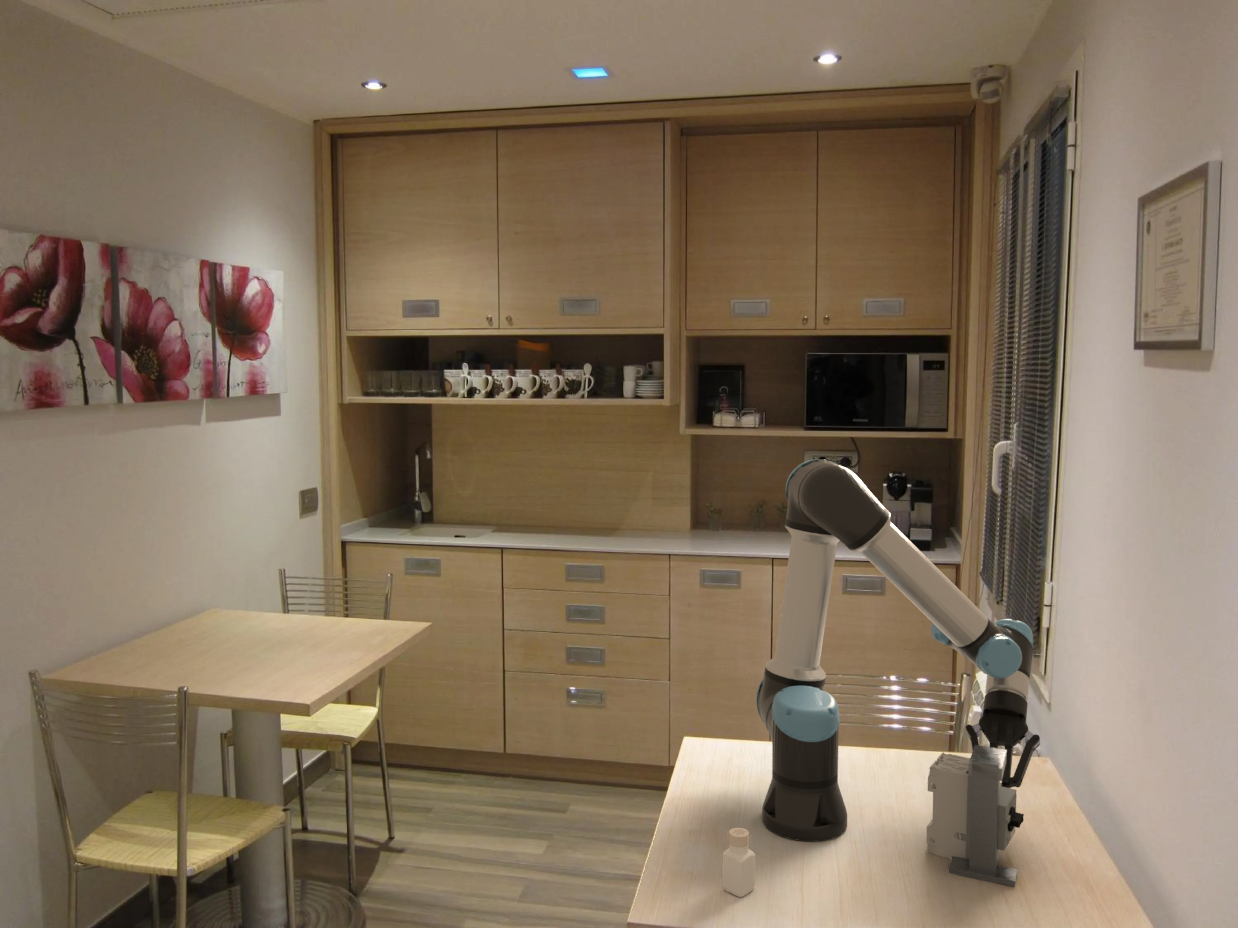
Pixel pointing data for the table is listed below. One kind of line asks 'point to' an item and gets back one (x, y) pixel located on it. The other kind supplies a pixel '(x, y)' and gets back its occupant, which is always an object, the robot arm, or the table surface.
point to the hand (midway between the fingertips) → (993, 820)
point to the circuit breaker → (962, 809)
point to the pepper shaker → (739, 864)
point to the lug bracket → (985, 819)
